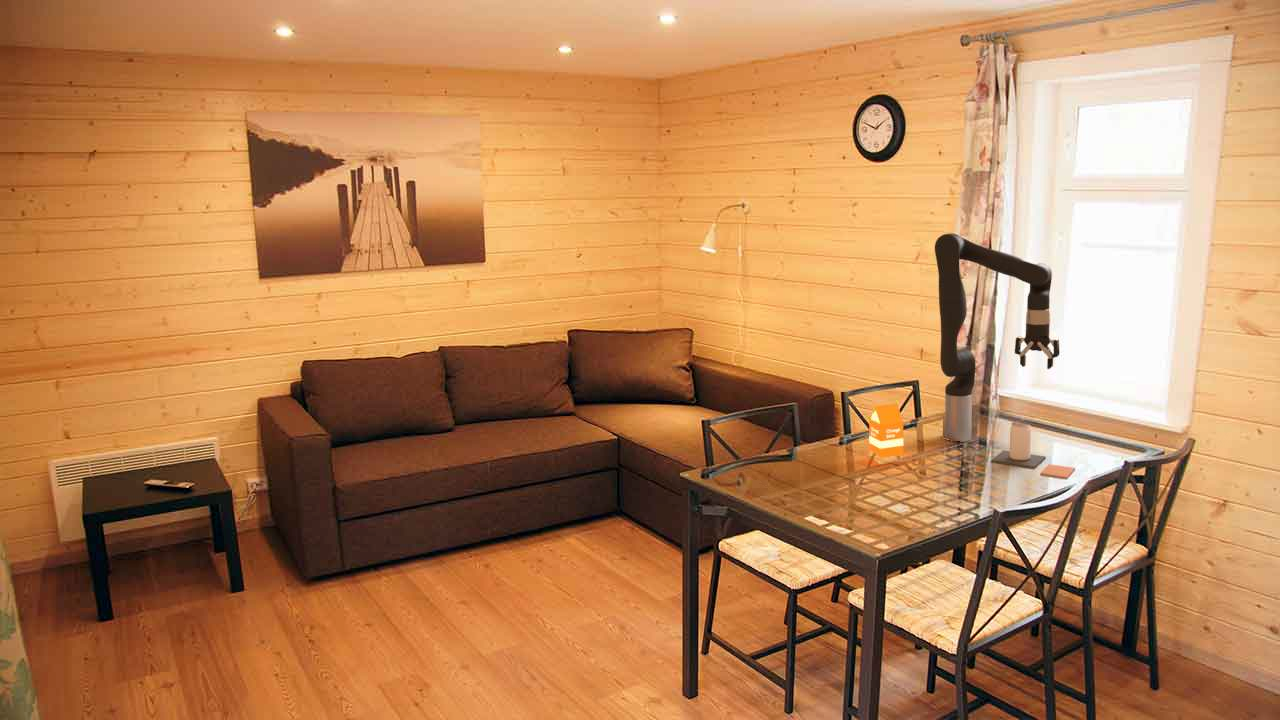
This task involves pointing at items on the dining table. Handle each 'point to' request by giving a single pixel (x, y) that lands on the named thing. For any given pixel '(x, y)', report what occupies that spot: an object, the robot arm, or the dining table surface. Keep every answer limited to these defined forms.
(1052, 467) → the tile
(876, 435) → the orange juice
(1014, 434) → the can
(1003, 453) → the mat
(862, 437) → the dining table surface
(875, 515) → the dining table surface
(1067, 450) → the dining table surface
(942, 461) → the dining table surface
